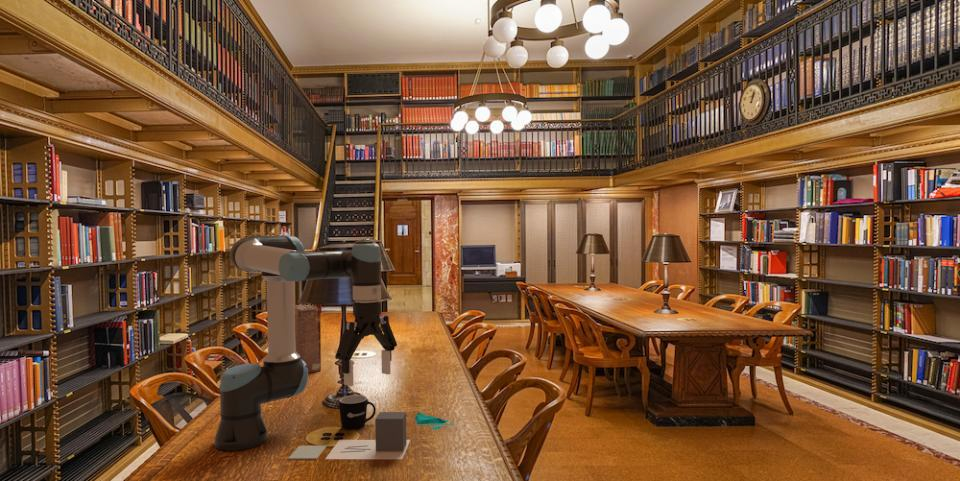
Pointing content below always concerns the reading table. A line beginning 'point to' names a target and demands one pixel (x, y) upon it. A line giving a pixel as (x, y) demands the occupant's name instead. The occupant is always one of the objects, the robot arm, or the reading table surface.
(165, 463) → the reading table surface
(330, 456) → the board
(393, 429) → the block
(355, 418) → the mug
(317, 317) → the book
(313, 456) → the pad
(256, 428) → the robot arm
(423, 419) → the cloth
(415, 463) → the reading table surface
